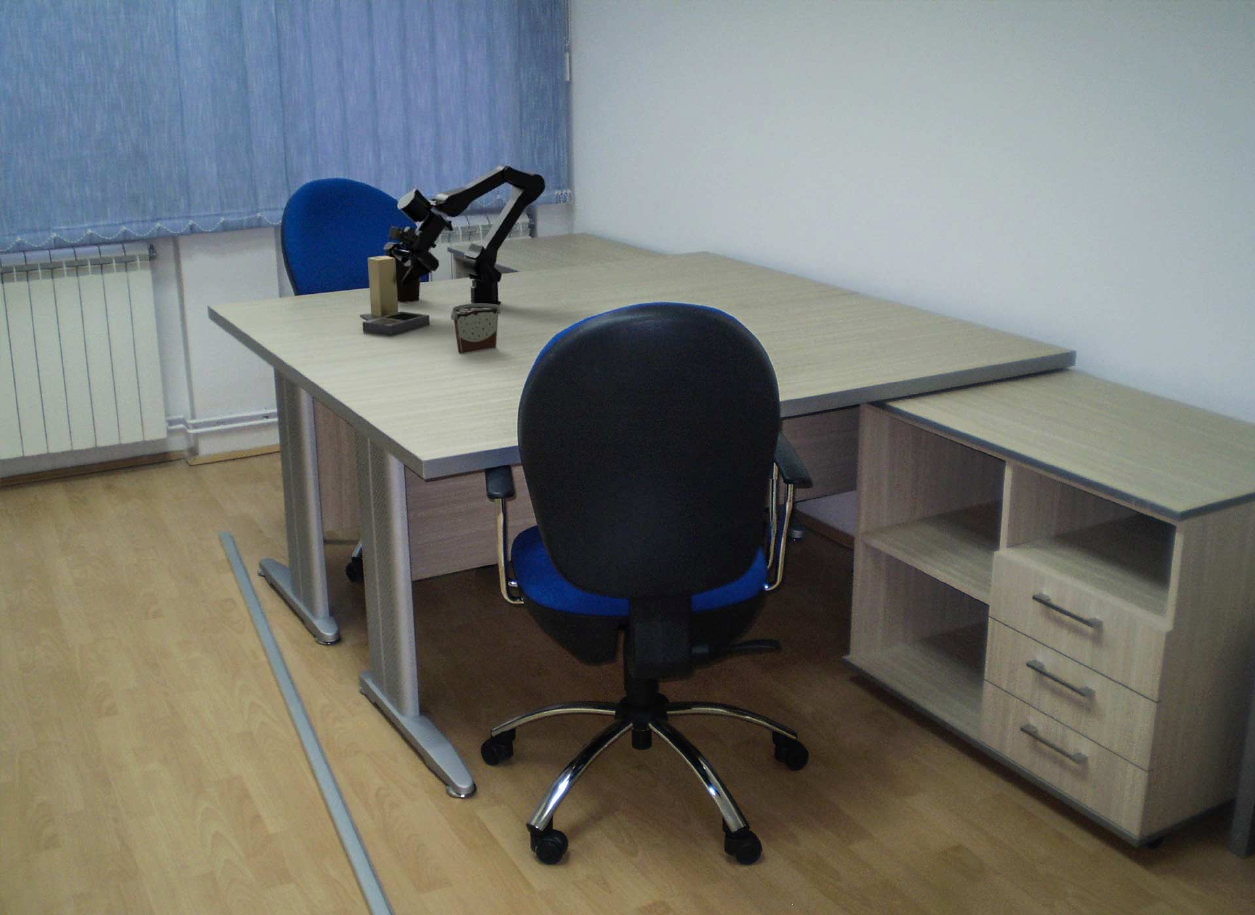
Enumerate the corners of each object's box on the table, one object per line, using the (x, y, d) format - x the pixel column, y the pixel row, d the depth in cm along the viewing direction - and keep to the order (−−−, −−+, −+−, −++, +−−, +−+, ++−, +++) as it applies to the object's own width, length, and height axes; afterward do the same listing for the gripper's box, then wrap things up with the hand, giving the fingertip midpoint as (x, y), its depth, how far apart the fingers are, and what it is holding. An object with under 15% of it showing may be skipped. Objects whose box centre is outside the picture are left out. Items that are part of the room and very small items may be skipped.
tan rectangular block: (388, 313, 329) (385, 255, 324) (398, 316, 326) (395, 258, 321) (371, 316, 326) (367, 257, 321) (381, 319, 322) (377, 260, 318)
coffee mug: (416, 303, 344) (414, 266, 340) (386, 302, 345) (384, 265, 342) (431, 295, 354) (429, 259, 351) (402, 294, 356) (400, 258, 353)
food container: (487, 342, 300) (485, 300, 297) (501, 347, 296) (500, 304, 292) (442, 350, 293) (440, 307, 290) (456, 355, 288) (454, 311, 285)
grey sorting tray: (402, 321, 322) (401, 311, 321) (429, 325, 318) (429, 314, 317) (363, 331, 311) (362, 321, 310) (391, 336, 306) (390, 325, 305)
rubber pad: (397, 312, 332) (396, 310, 332) (409, 319, 324) (409, 318, 324) (359, 316, 328) (359, 314, 328) (371, 323, 319) (371, 322, 319)
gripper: (387, 210, 329) (352, 258, 326) (425, 218, 316) (390, 268, 313) (415, 237, 337) (382, 284, 334) (454, 245, 323) (420, 295, 320)
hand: (392, 282), depth 325 cm, fingers open, 9 cm apart
